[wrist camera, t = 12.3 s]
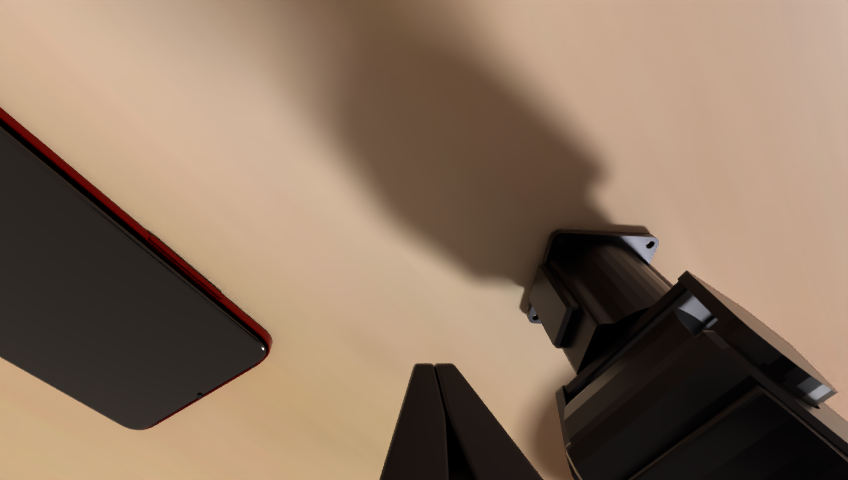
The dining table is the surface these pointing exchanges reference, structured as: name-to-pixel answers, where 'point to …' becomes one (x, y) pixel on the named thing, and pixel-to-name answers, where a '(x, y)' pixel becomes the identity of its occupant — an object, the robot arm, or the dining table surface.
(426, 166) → the dining table surface
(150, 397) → the smartphone
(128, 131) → the dining table surface
